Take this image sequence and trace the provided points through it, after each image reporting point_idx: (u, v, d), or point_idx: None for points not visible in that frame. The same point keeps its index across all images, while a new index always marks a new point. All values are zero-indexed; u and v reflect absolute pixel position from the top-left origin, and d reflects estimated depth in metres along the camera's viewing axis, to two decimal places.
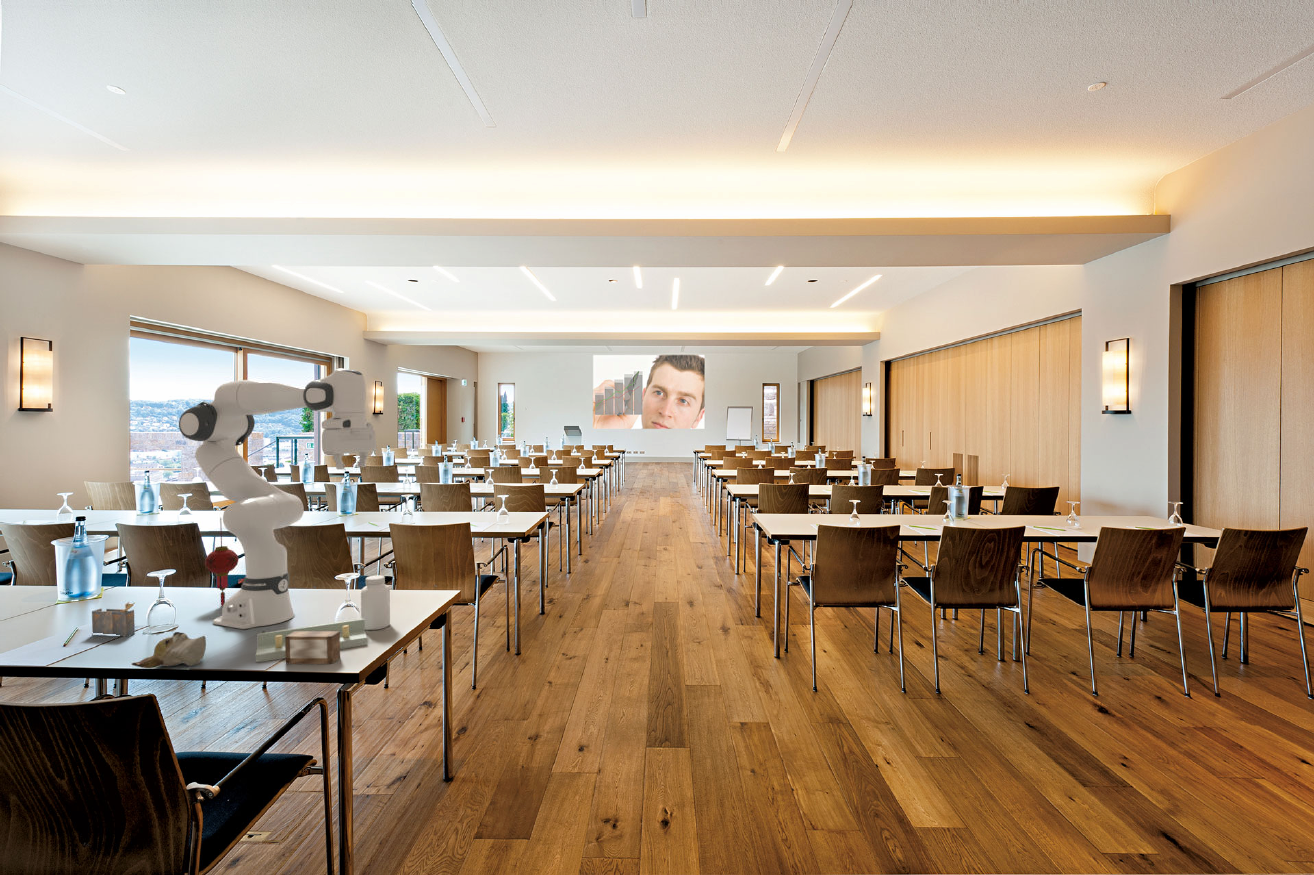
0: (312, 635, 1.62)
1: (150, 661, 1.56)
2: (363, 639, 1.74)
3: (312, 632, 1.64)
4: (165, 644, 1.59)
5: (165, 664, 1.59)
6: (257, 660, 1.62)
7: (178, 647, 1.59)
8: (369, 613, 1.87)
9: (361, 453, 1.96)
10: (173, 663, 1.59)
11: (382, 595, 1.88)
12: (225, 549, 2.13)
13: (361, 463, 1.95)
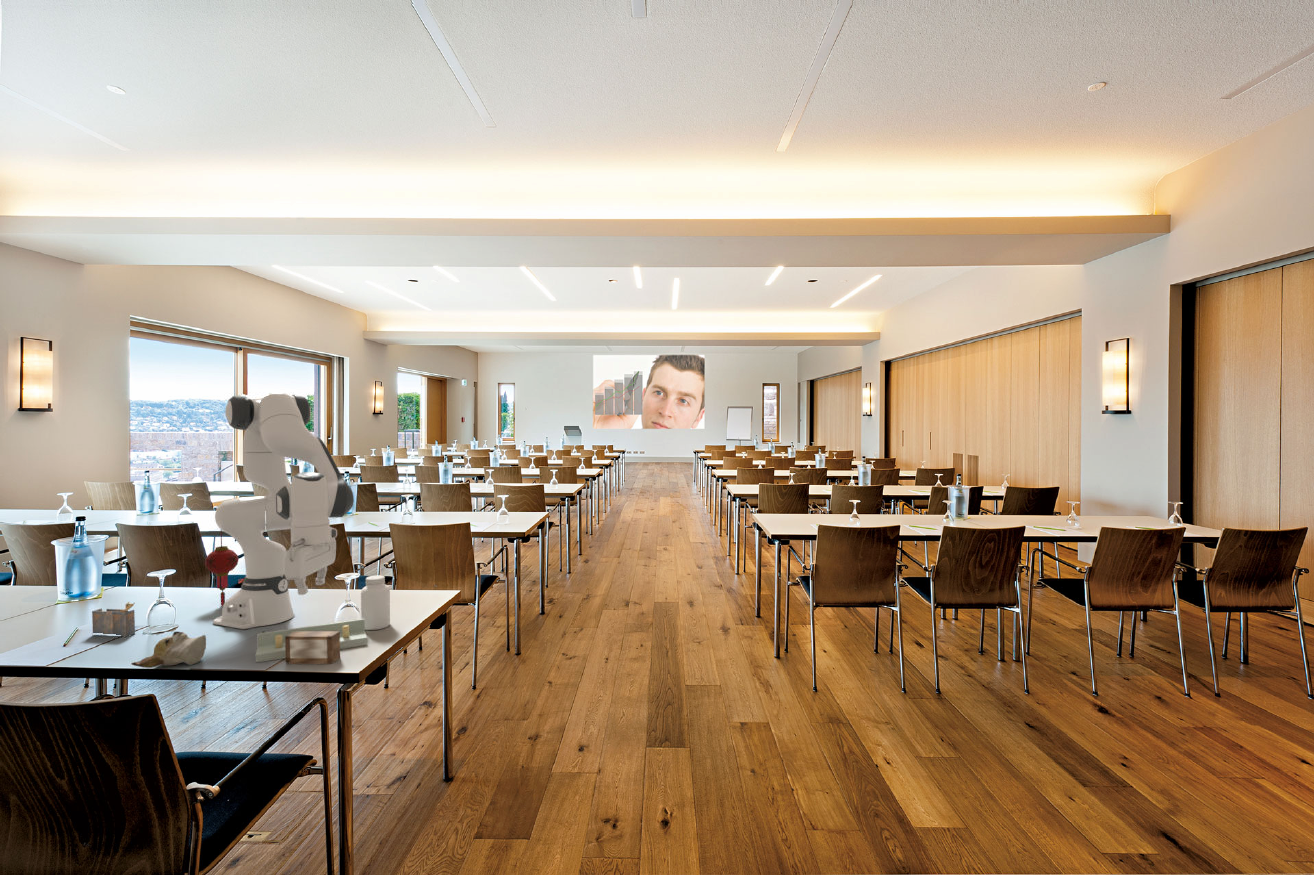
0: (312, 635, 1.62)
1: (151, 660, 1.57)
2: (363, 639, 1.74)
3: (312, 632, 1.64)
4: (165, 644, 1.59)
5: (165, 663, 1.59)
6: (257, 660, 1.62)
7: (178, 646, 1.60)
8: (369, 613, 1.87)
9: None
10: (174, 662, 1.60)
11: (382, 595, 1.88)
12: (225, 549, 2.13)
13: None
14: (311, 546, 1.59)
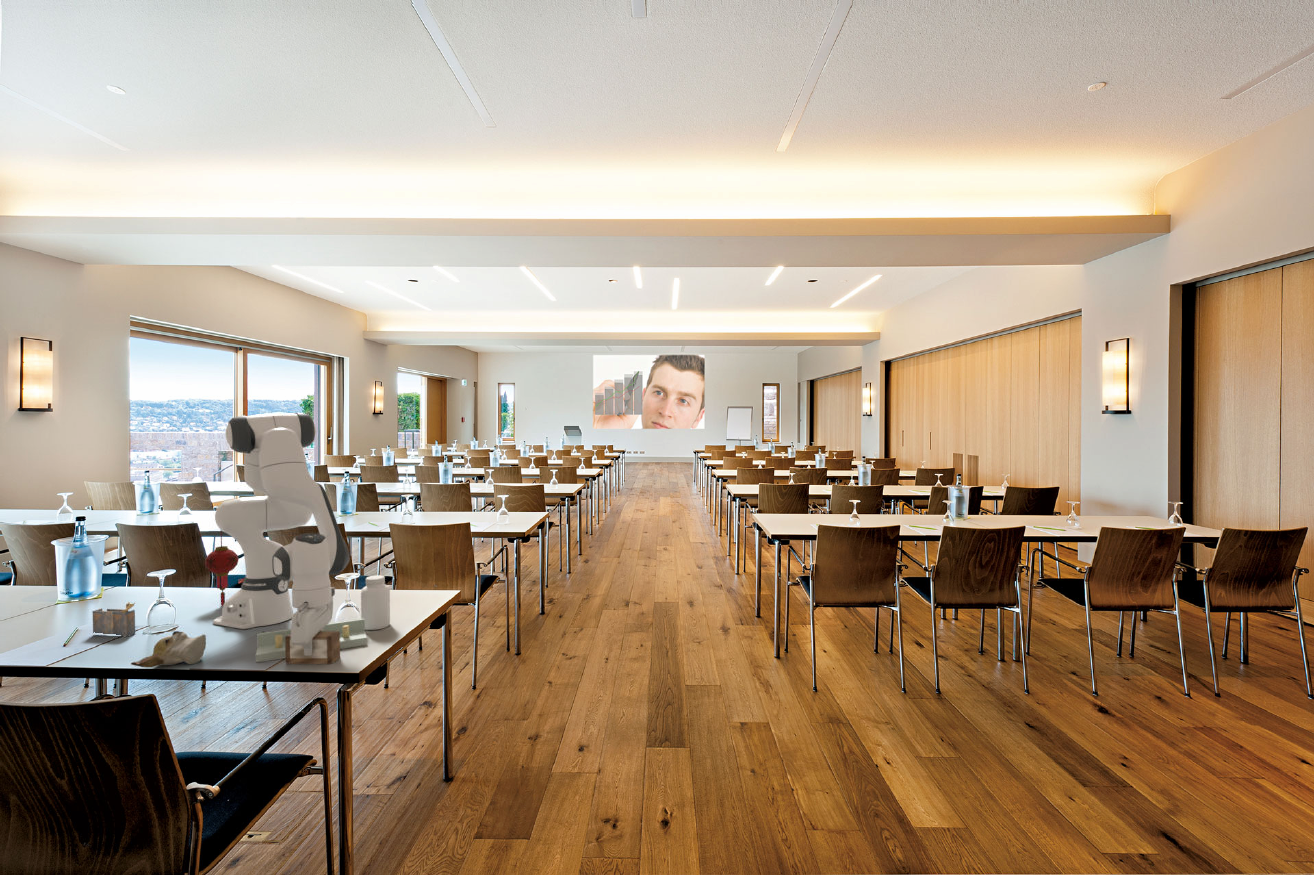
0: None
1: (151, 660, 1.57)
2: (363, 639, 1.74)
3: None
4: (165, 643, 1.59)
5: (165, 663, 1.60)
6: (257, 660, 1.62)
7: (178, 646, 1.60)
8: (369, 613, 1.87)
9: None
10: (174, 662, 1.60)
11: (382, 595, 1.88)
12: (225, 549, 2.13)
13: None
14: (314, 608, 1.60)
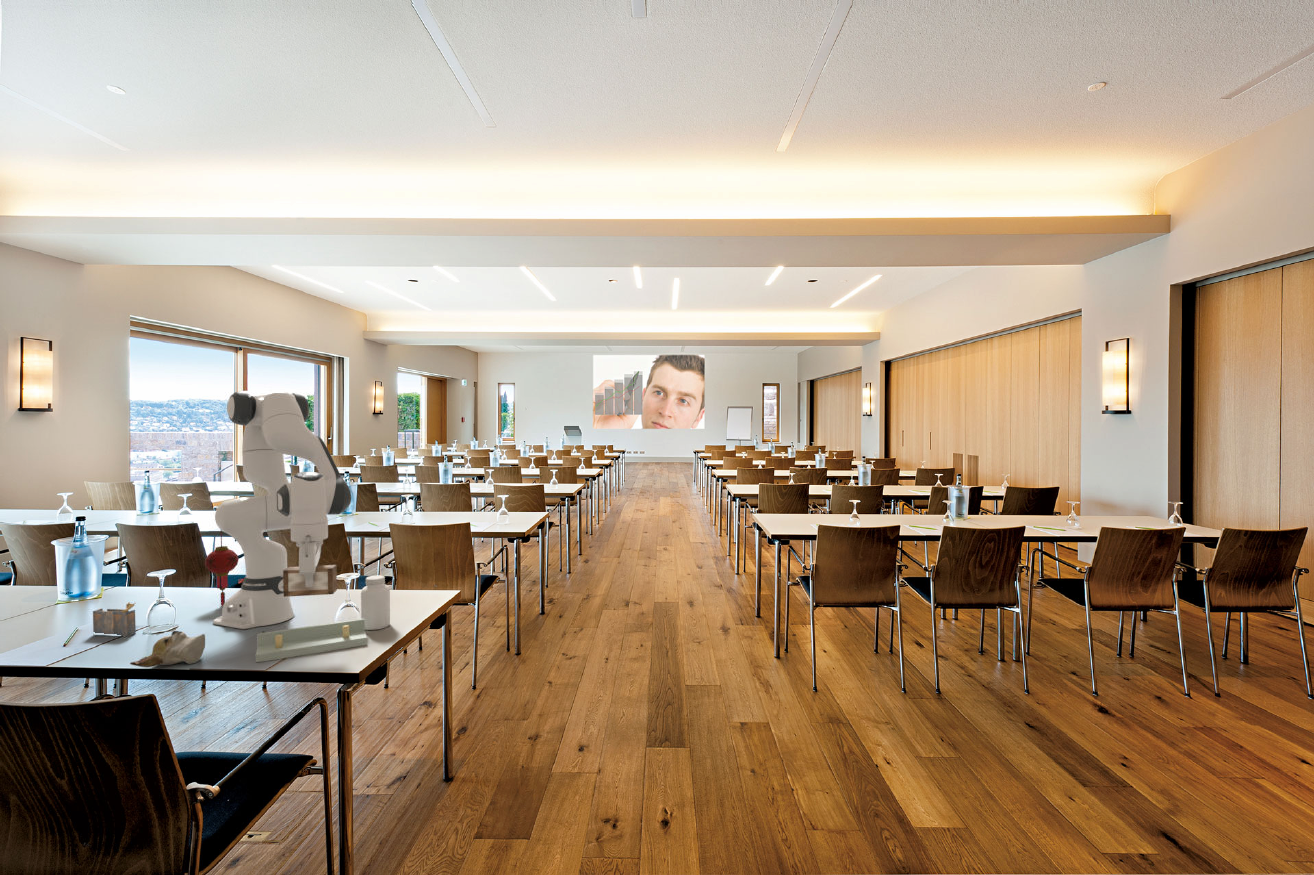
0: None
1: (150, 660, 1.57)
2: (363, 639, 1.74)
3: None
4: (164, 643, 1.60)
5: (164, 663, 1.60)
6: (257, 660, 1.62)
7: (177, 645, 1.60)
8: (369, 613, 1.87)
9: None
10: (173, 662, 1.60)
11: (382, 595, 1.88)
12: (225, 549, 2.13)
13: None
14: (316, 542, 1.68)
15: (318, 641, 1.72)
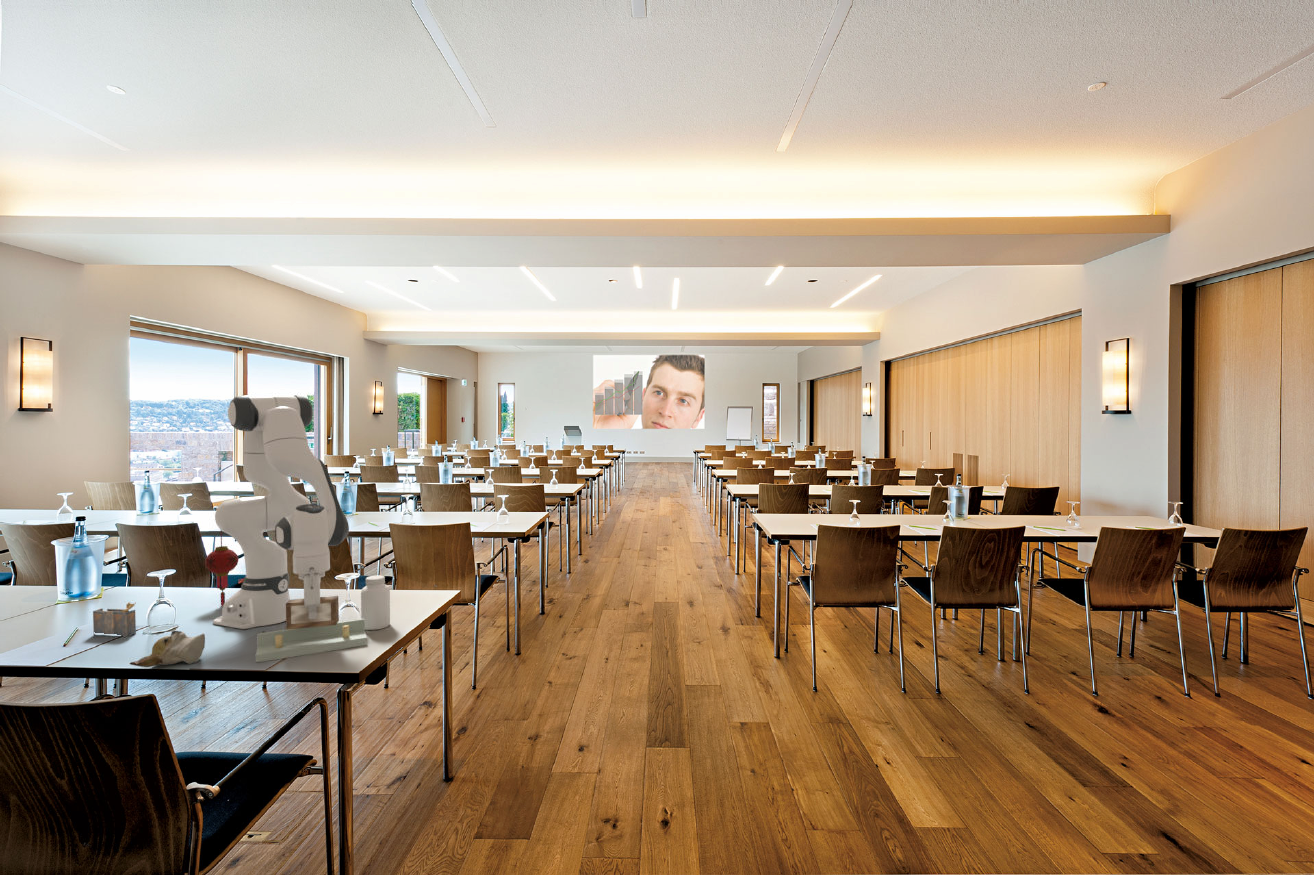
0: None
1: (150, 660, 1.57)
2: (363, 639, 1.74)
3: None
4: (164, 643, 1.60)
5: (164, 663, 1.60)
6: (257, 660, 1.62)
7: (177, 645, 1.60)
8: (369, 613, 1.87)
9: None
10: (173, 661, 1.60)
11: (382, 595, 1.88)
12: (225, 549, 2.13)
13: None
14: (319, 574, 1.69)
15: (318, 641, 1.72)
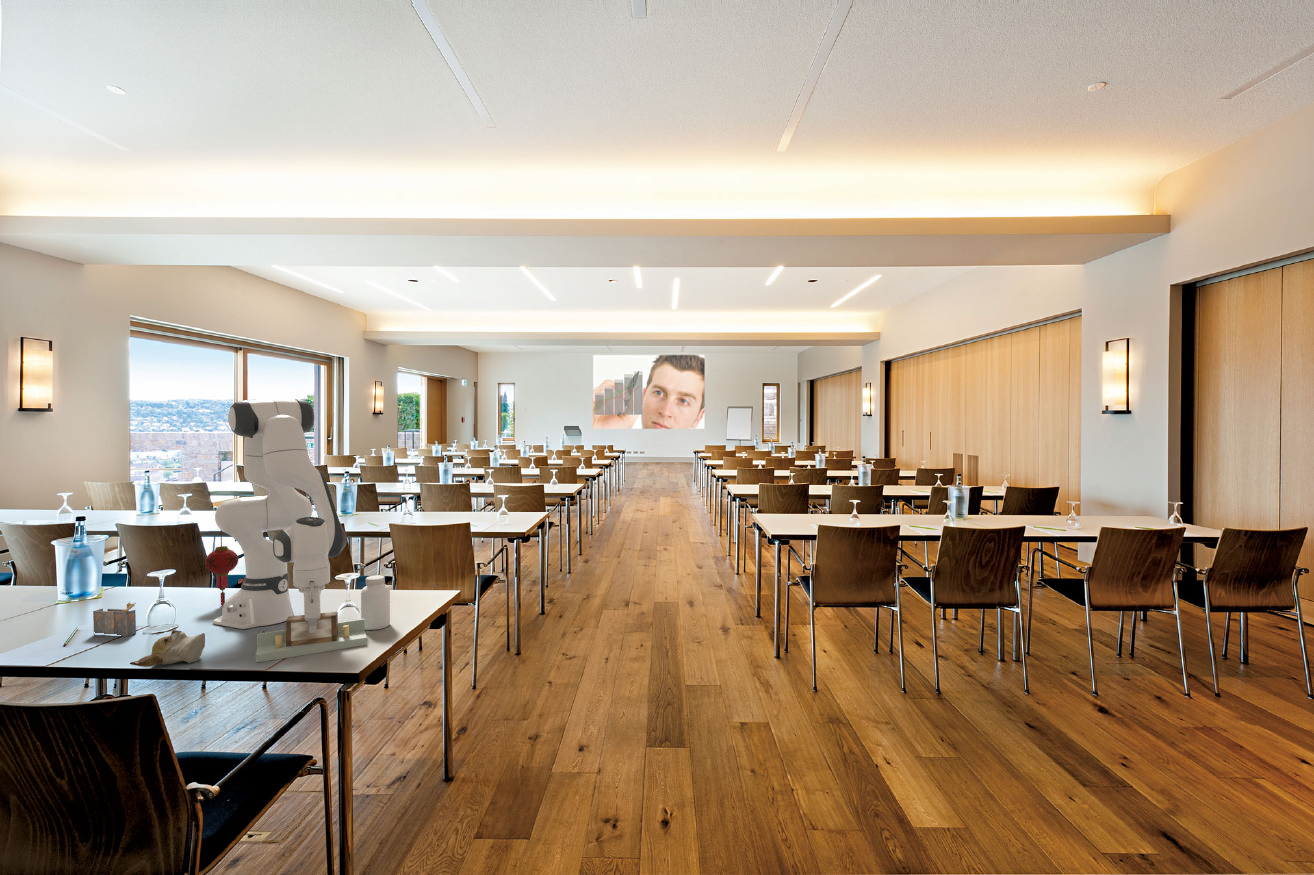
0: None
1: (150, 659, 1.57)
2: (363, 639, 1.74)
3: None
4: (164, 643, 1.60)
5: (164, 662, 1.60)
6: (257, 660, 1.62)
7: (178, 645, 1.61)
8: (369, 613, 1.87)
9: None
10: (173, 661, 1.61)
11: (382, 595, 1.88)
12: (225, 549, 2.13)
13: None
14: (319, 587, 1.69)
15: None
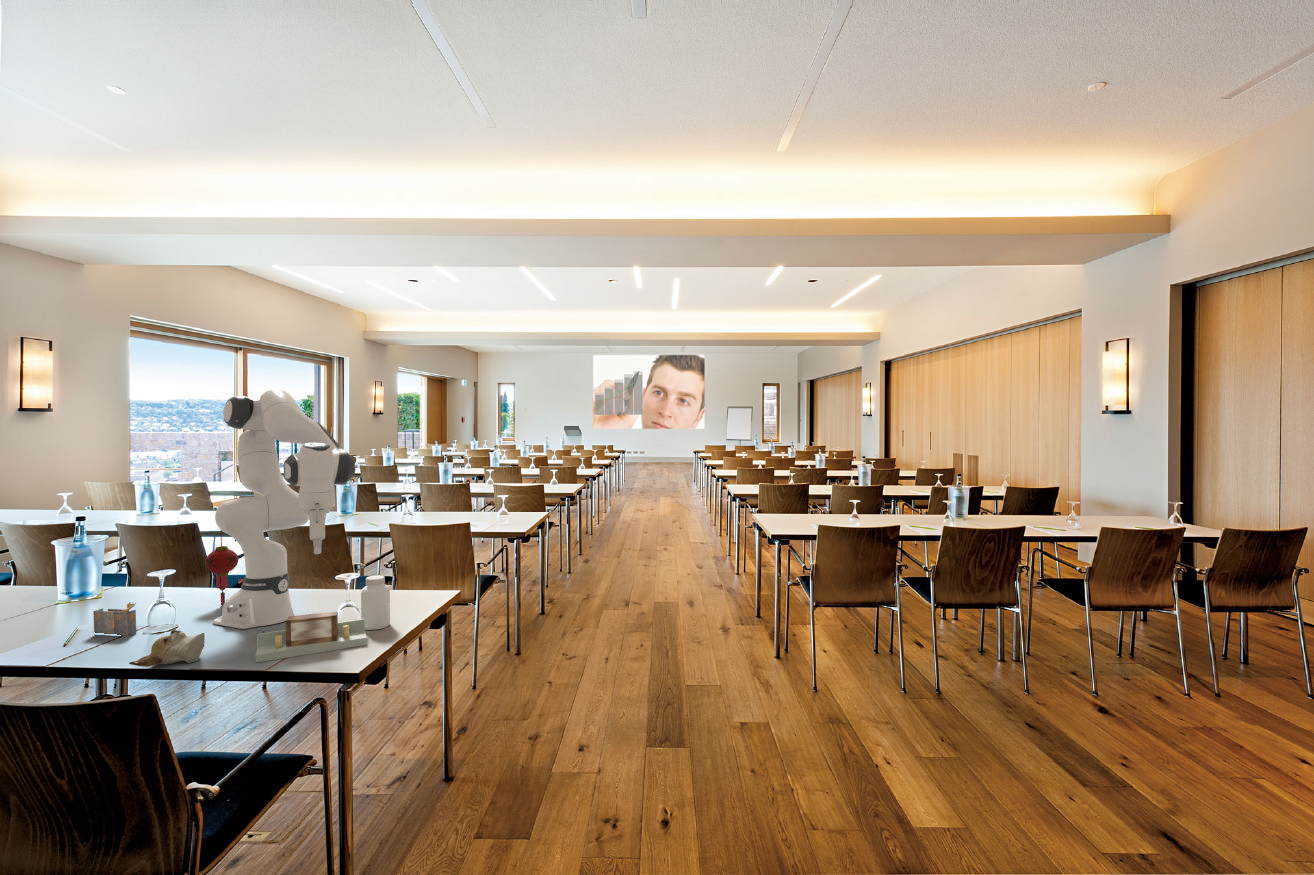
0: (314, 616, 1.71)
1: (150, 659, 1.58)
2: (363, 639, 1.74)
3: (309, 615, 1.73)
4: (163, 642, 1.60)
5: (164, 662, 1.60)
6: (257, 660, 1.62)
7: (177, 644, 1.61)
8: (369, 613, 1.87)
9: None
10: (172, 661, 1.61)
11: (382, 595, 1.88)
12: (225, 549, 2.13)
13: None
14: (324, 510, 1.74)
15: None
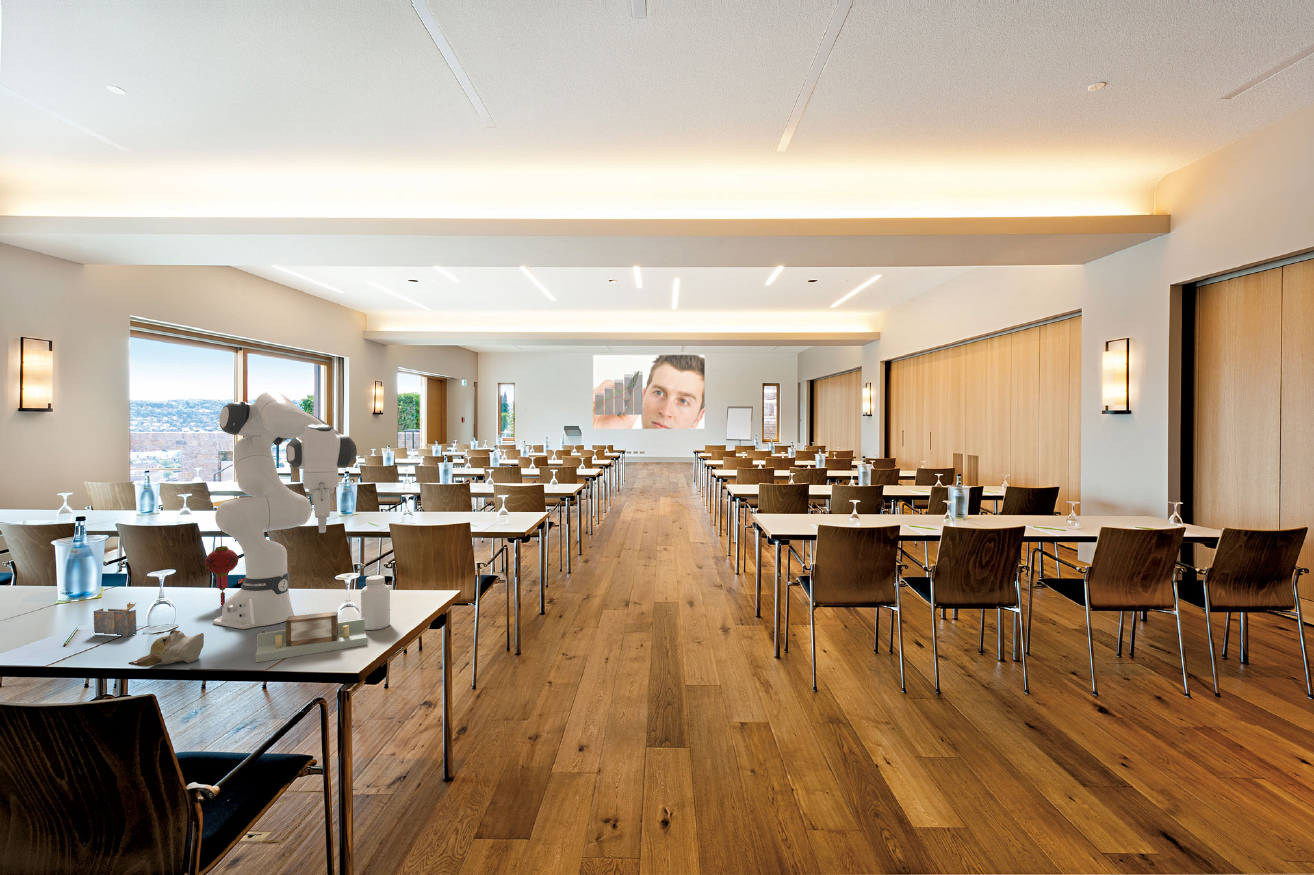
0: (314, 616, 1.71)
1: (149, 659, 1.57)
2: (363, 639, 1.74)
3: (309, 615, 1.73)
4: (162, 643, 1.60)
5: (163, 662, 1.60)
6: (257, 660, 1.62)
7: (176, 645, 1.61)
8: (369, 613, 1.87)
9: None
10: (172, 661, 1.61)
11: (382, 595, 1.88)
12: (225, 549, 2.13)
13: None
14: (328, 489, 1.77)
15: None
